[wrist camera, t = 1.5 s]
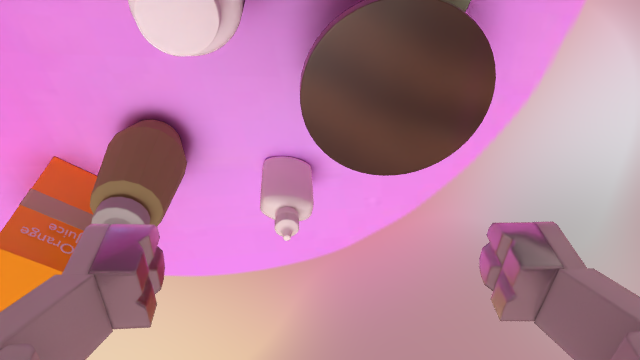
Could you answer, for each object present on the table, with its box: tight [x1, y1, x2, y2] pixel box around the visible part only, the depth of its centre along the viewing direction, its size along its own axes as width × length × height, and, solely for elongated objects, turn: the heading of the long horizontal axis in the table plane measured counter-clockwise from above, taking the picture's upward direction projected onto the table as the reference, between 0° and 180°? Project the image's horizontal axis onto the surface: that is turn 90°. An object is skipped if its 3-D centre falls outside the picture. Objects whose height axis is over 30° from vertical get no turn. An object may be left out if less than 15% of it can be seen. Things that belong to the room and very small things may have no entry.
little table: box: [300, 0, 496, 176], centre depth 44 cm, size 16×16×11 cm
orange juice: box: [0, 156, 97, 312], centre depth 49 cm, size 8×9×20 cm
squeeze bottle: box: [90, 119, 187, 226], centre depth 46 cm, size 8×8×18 cm
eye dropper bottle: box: [260, 156, 314, 241], centre depth 52 cm, size 4×6×12 cm
